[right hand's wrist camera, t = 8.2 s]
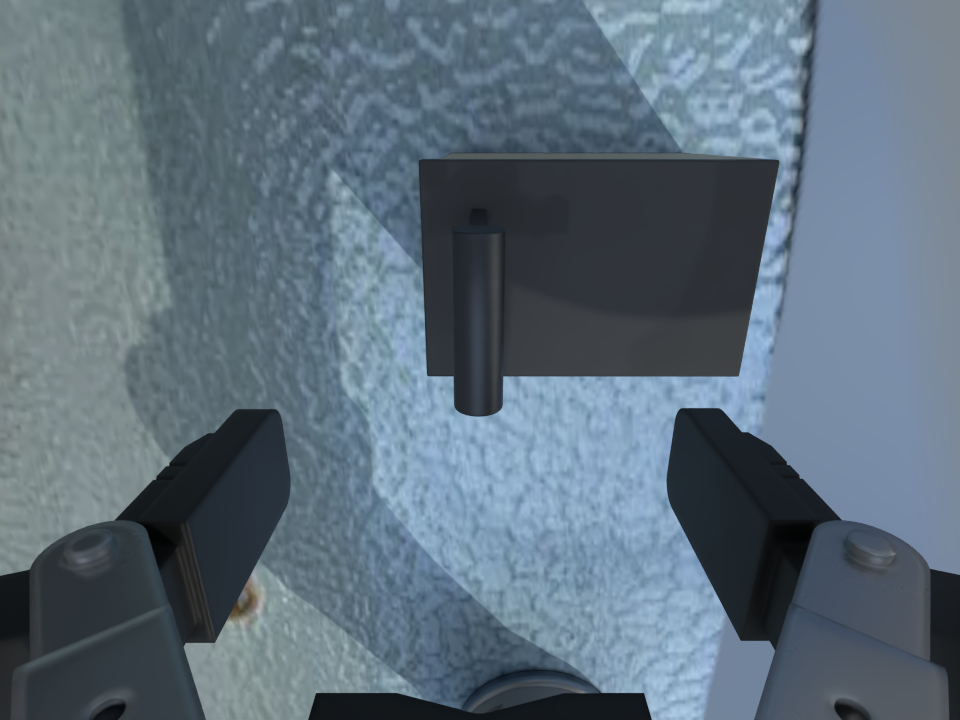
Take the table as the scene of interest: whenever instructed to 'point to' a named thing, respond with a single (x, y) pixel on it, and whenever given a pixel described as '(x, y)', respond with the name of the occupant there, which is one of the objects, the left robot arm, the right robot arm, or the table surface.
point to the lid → (588, 268)
